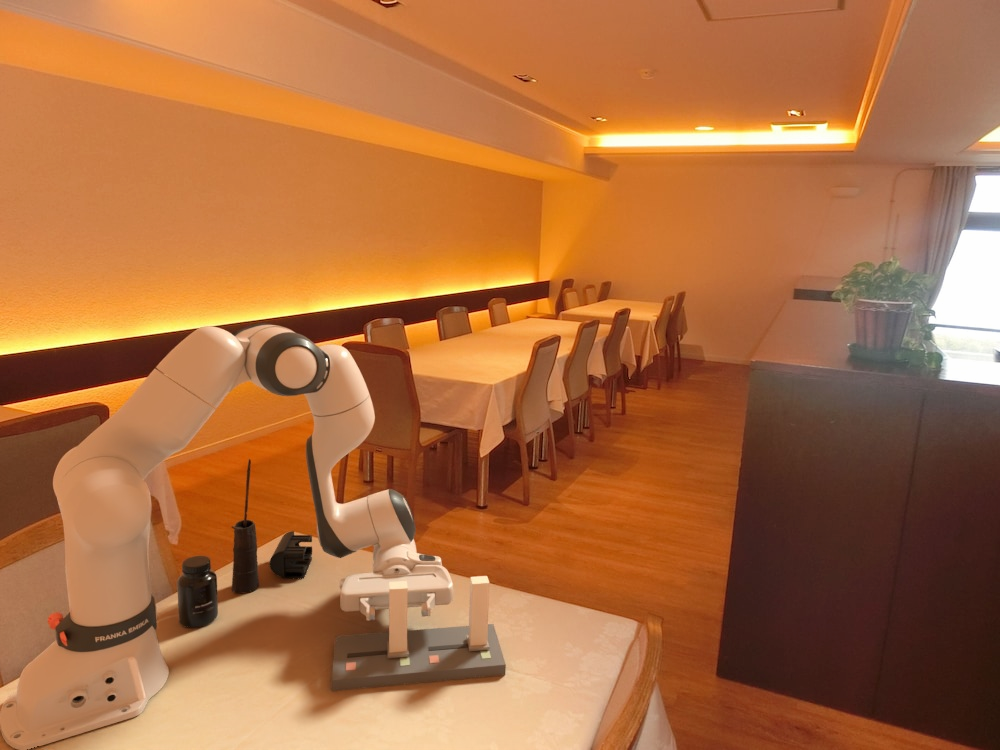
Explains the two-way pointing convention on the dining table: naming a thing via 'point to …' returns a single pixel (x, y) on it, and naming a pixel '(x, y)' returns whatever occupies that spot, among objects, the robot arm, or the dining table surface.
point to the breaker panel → (413, 659)
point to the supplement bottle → (197, 593)
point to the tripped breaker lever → (397, 620)
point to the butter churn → (245, 552)
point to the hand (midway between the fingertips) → (398, 615)
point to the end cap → (291, 556)
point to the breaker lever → (478, 614)
